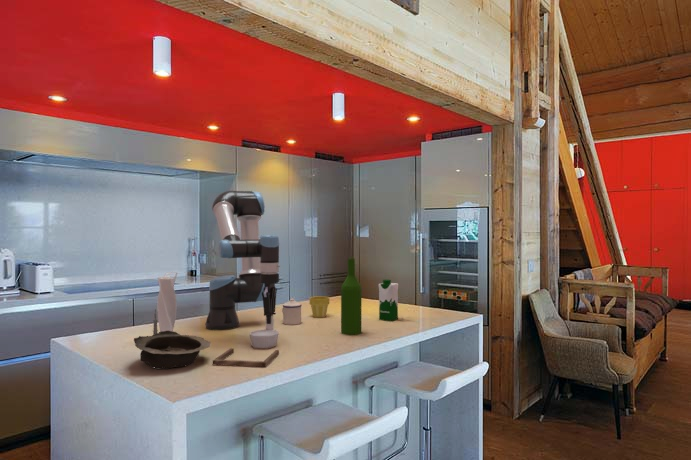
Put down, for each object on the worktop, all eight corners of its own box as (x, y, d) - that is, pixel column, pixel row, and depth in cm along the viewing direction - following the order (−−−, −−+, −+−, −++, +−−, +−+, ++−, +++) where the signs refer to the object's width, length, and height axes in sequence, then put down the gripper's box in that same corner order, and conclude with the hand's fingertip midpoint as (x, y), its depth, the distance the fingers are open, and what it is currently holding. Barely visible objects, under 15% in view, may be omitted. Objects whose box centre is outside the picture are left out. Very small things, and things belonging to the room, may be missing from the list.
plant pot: (311, 314, 238) (311, 295, 238) (330, 314, 237) (330, 296, 237) (307, 318, 228) (307, 298, 228) (327, 318, 227) (327, 299, 227)
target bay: (212, 364, 150) (212, 360, 150) (230, 352, 165) (230, 348, 165) (265, 367, 147) (265, 362, 147) (278, 354, 162) (278, 350, 162)
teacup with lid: (305, 323, 216) (305, 298, 216) (290, 325, 210) (290, 301, 210) (290, 319, 225) (290, 296, 225) (275, 322, 218) (275, 298, 218)
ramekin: (246, 344, 177) (246, 330, 177) (274, 341, 182) (274, 328, 182) (252, 351, 167) (252, 337, 167) (281, 347, 171) (281, 334, 171)
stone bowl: (124, 359, 155) (127, 332, 156) (197, 353, 170) (199, 328, 170) (139, 377, 135) (141, 346, 136) (219, 369, 150) (221, 341, 150)
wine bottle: (365, 332, 196) (365, 258, 196) (352, 336, 190) (351, 259, 189) (350, 329, 202) (350, 257, 202) (336, 332, 196) (336, 258, 195)
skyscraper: (172, 336, 190) (172, 270, 190) (180, 340, 184) (180, 272, 184) (152, 340, 184) (152, 272, 184) (160, 343, 178) (160, 273, 178)
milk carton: (376, 320, 223) (376, 279, 223) (385, 316, 231) (385, 278, 231) (392, 321, 218) (392, 281, 218) (400, 318, 226) (400, 279, 226)
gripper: (273, 274, 174) (274, 335, 174) (282, 271, 187) (283, 328, 187) (255, 274, 175) (255, 334, 175) (265, 271, 188) (265, 327, 188)
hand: (269, 331), depth 181 cm, fingers closed
